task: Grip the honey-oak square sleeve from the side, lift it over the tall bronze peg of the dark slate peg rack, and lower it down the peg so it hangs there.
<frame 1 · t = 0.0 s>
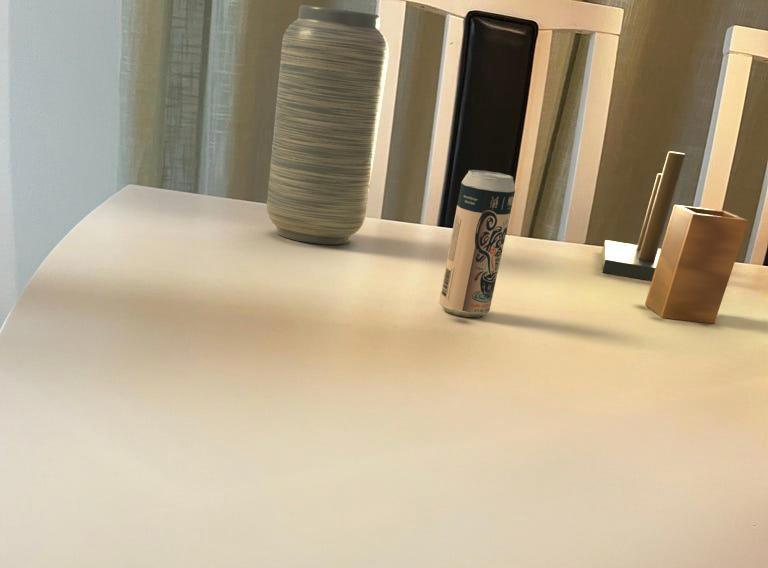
rack: (641, 268, 127), on the table
sleeve: (678, 313, 105), on the table
drink can: (462, 314, 95), on the table
vase: (312, 238, 119), on the table
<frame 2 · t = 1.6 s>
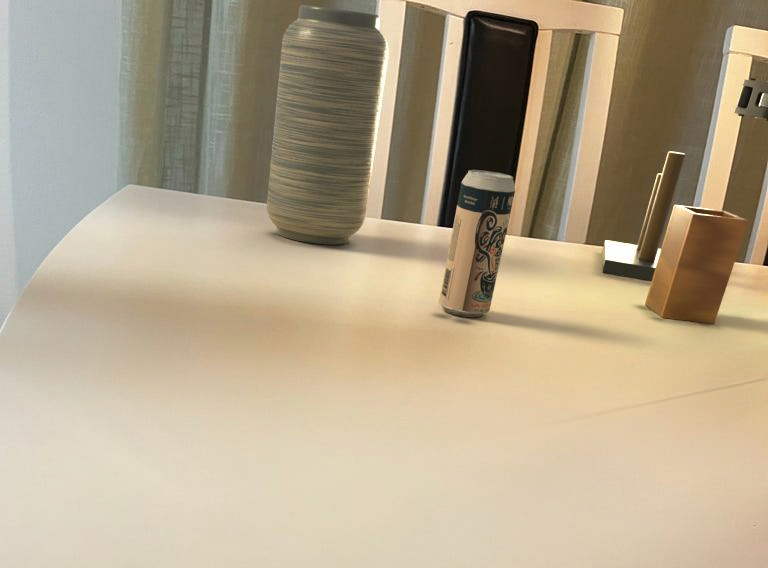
nothing on the table moved.
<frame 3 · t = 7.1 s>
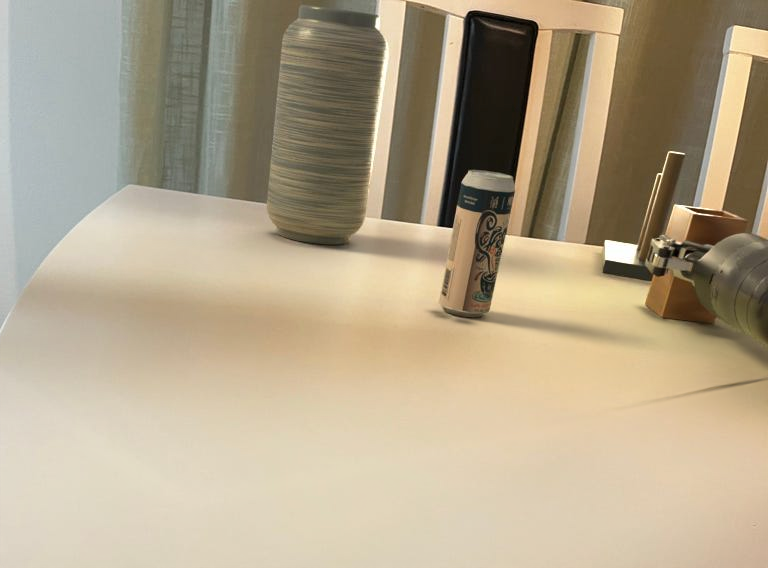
hand: (688, 249, 104), 6 cm above the table, tool horizontal, fingers closed on sleeve, 5 cm apart
sleeve: (678, 313, 105), on the table, touching gripper
everything else where it was.
when the fingers open (8 cm above the table, at t = 17.4 s): sleeve stays where it is, resting on rack.
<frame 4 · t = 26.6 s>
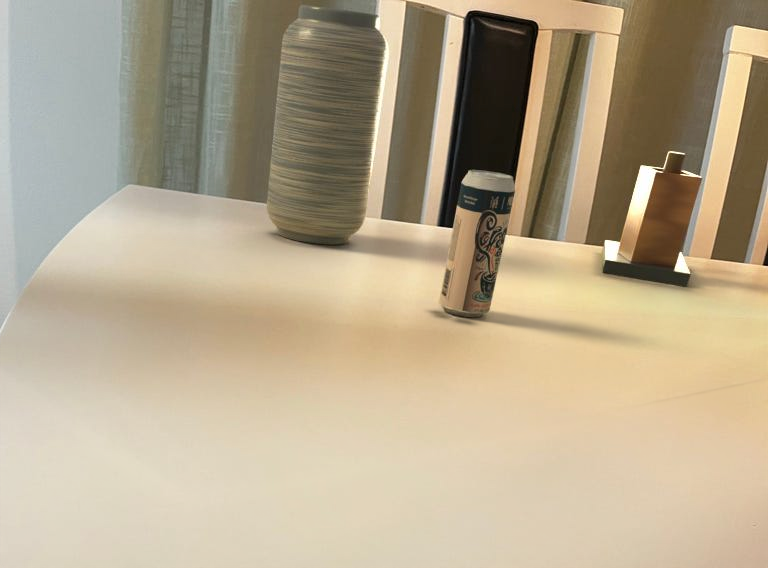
sleeve: (645, 259, 124), point 1 cm above the table, touching rack
everything else where it was.
at the end: sleeve 0.1 cm from the target spot on the rack, point 1.5 cm above the rack's base; sleeve tilted 0°; the gripper is holding nothing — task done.
